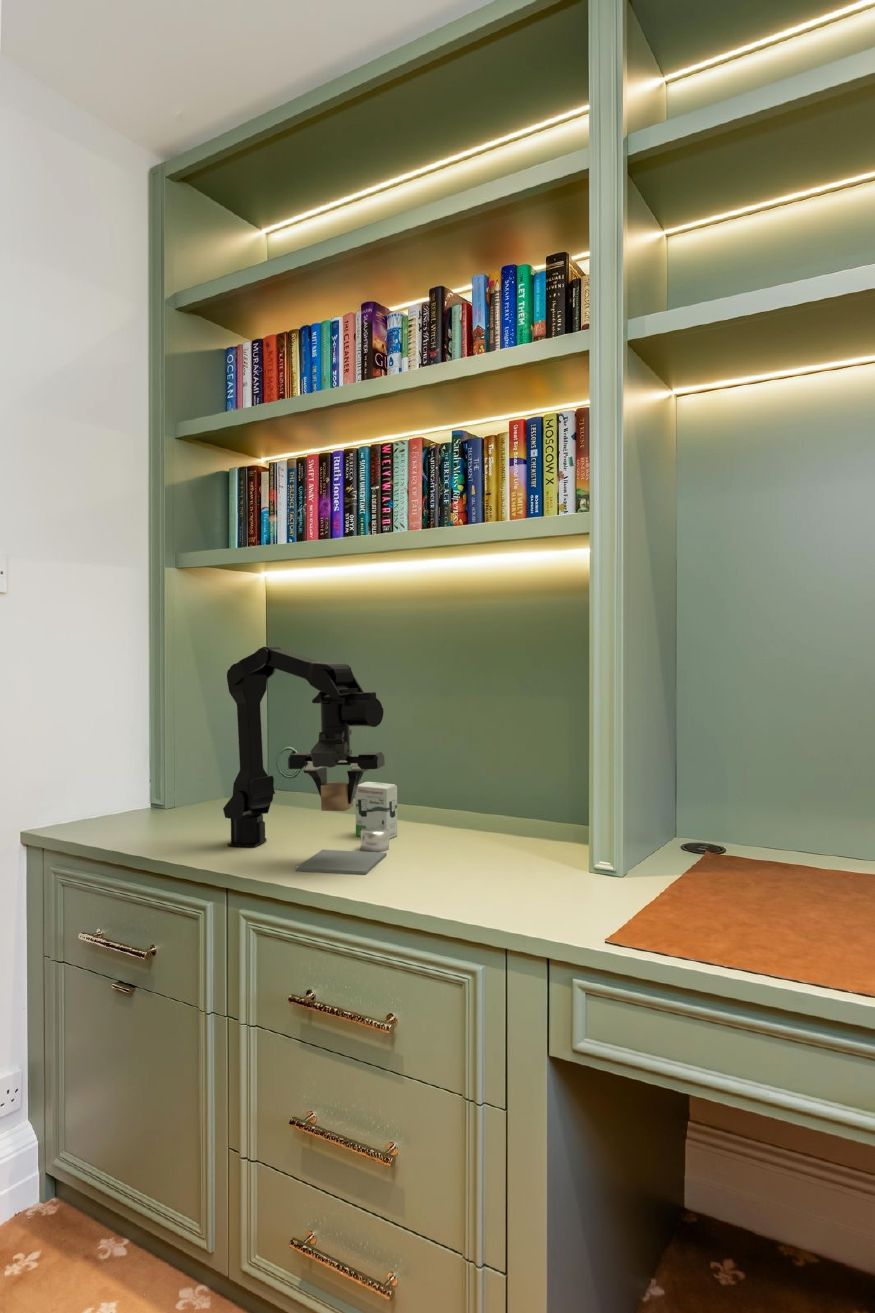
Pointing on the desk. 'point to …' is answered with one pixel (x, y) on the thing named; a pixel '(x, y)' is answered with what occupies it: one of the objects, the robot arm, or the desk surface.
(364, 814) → the ink box
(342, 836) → the desk surface
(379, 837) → the tin
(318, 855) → the mat
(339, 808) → the walnut block
